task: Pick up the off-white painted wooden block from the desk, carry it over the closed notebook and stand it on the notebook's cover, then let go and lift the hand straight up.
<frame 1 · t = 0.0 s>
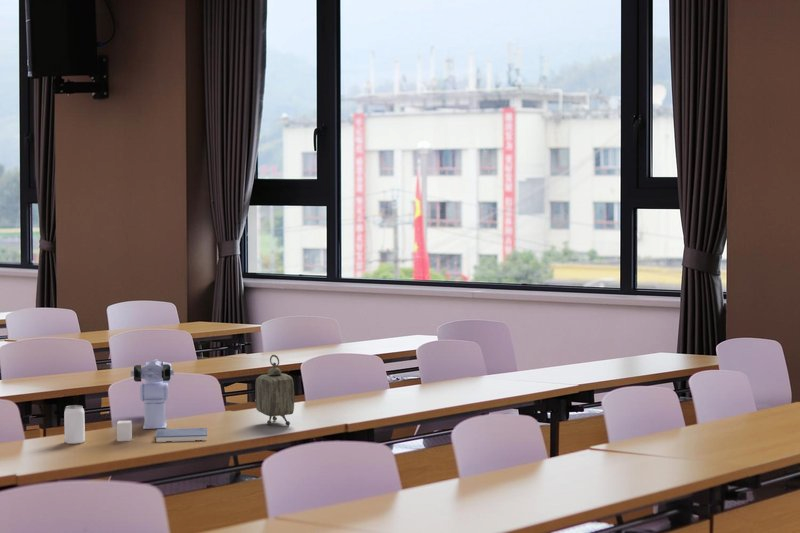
hand: (151, 374, 396), 22 cm above the table, tool horizontal, fingers open, 7 cm apart
notebook: (181, 439, 398), on the table
block: (124, 439, 395), on the table
can: (74, 442, 391), on the table
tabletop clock: (274, 424, 420), on the table
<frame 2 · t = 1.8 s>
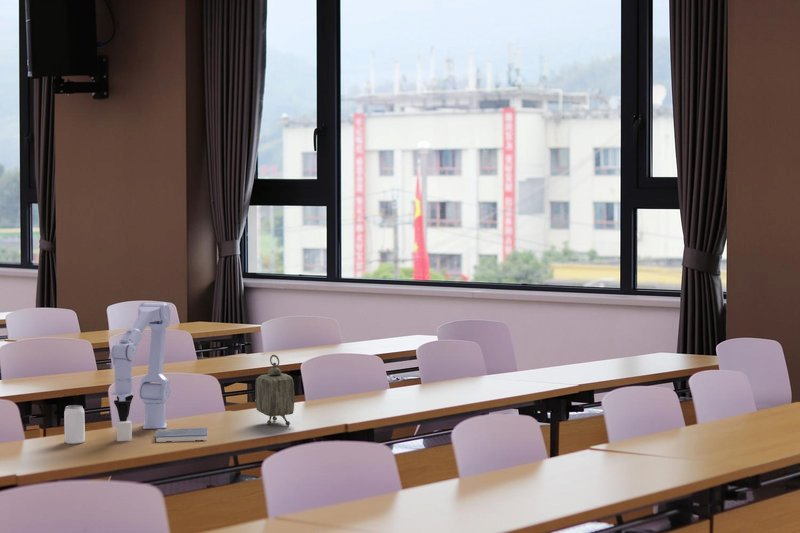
hand: (124, 419, 394), 7 cm above the table, tool pointing down, fingers open, 7 cm apart
nothing on the table moved.
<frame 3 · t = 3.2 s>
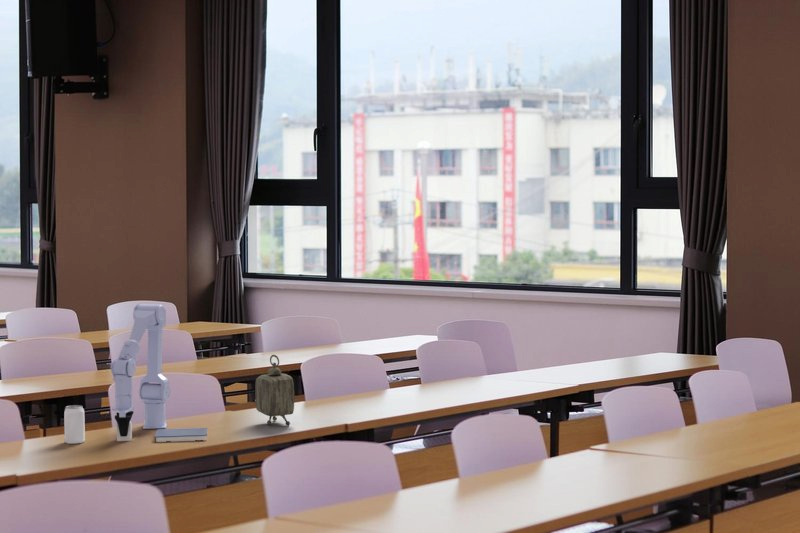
hand: (124, 434, 395), 2 cm above the table, tool pointing down, fingers closed on block, 4 cm apart
block: (124, 439, 395), on the table, touching gripper
everything else where it was.
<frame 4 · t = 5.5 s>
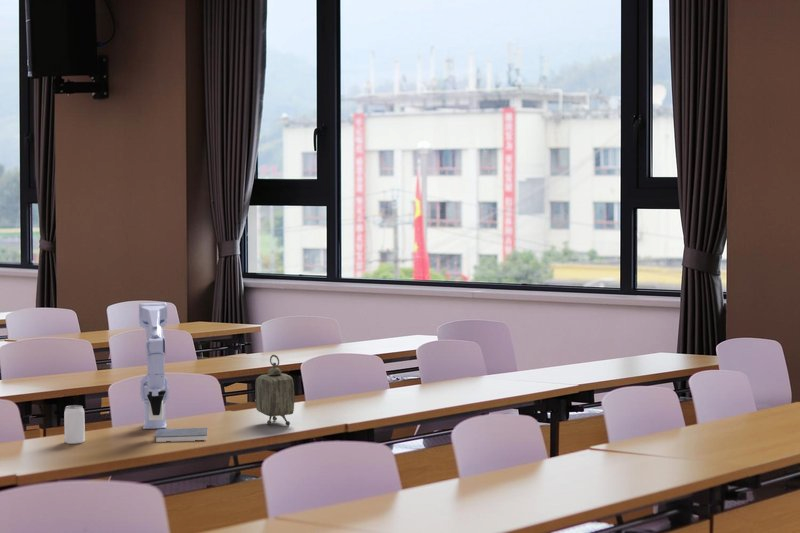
hand: (156, 413, 396), 8 cm above the table, tool pointing down, fingers closed on block, 4 cm apart
block: (156, 418, 396), point 7 cm above the table, touching gripper
everything else where it was.
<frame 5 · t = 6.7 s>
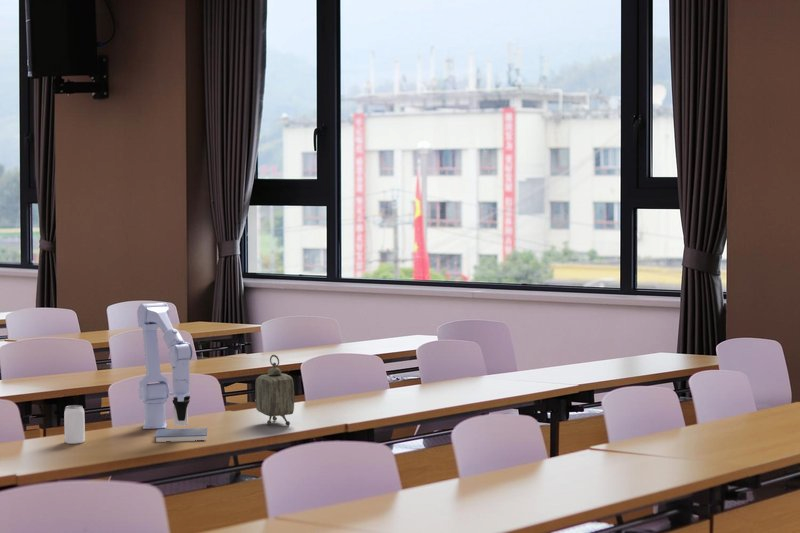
hand: (181, 419, 397), 6 cm above the table, tool pointing down, fingers closed on block, 4 cm apart
block: (180, 424, 397), point 5 cm above the table, touching gripper
everything else where it was.
when the fingers open (5 cm above the table, at t = 7.8 s): block drops 2 cm, point 2 cm above the table.
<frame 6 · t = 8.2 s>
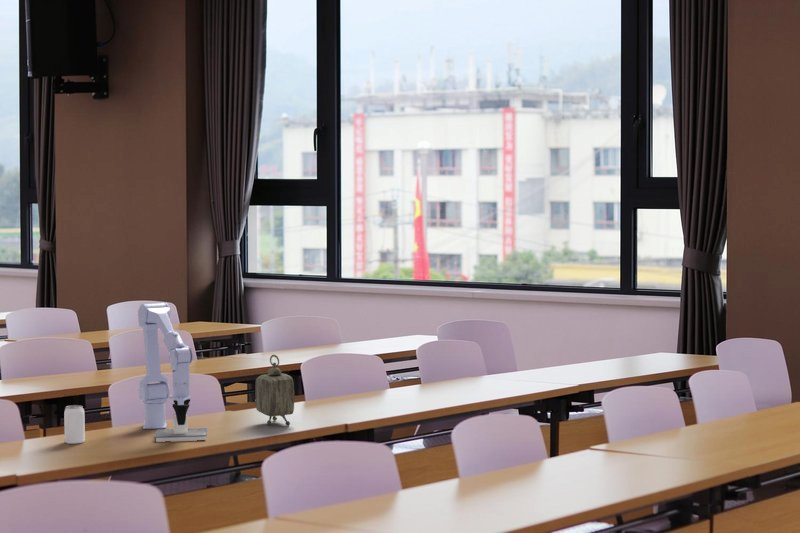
hand: (181, 422, 398), 5 cm above the table, tool pointing down, fingers open, 7 cm apart
block: (180, 432, 398), point 2 cm above the table
everything else where it was.
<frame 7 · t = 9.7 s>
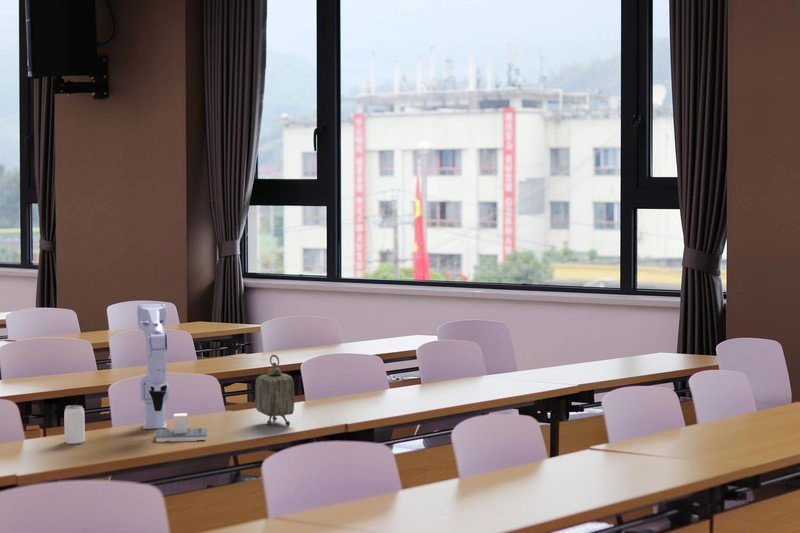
hand: (158, 408, 400), 9 cm above the table, tool pointing down, fingers open, 7 cm apart
nothing on the table moved.
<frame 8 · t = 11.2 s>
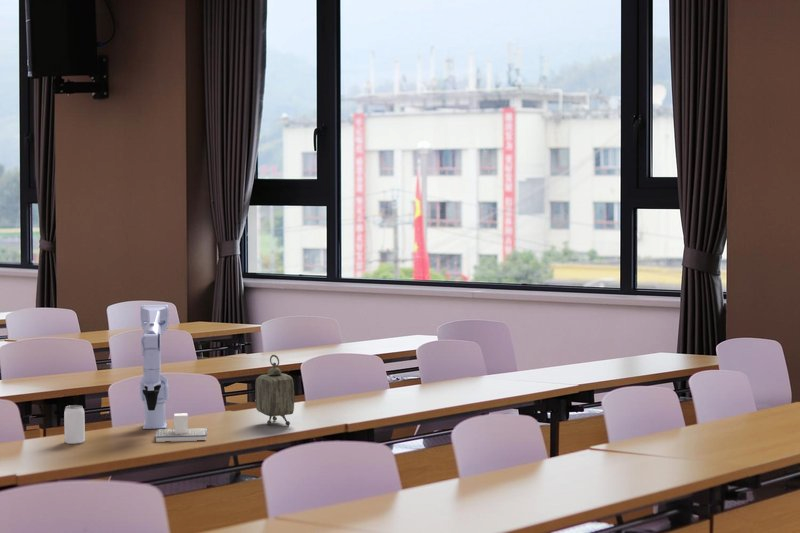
hand: (152, 408, 401), 9 cm above the table, tool pointing down, fingers open, 7 cm apart
notebook: (181, 439, 398), on the table, touching block
block: (181, 432, 398), point 2 cm above the table, touching notebook
everything else where it was.
at the end: block inside the target area on the notebook (0.4 cm from its centre), point 2.6 cm above the notebook's base; block tilted 1°; the gripper is holding nothing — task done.
